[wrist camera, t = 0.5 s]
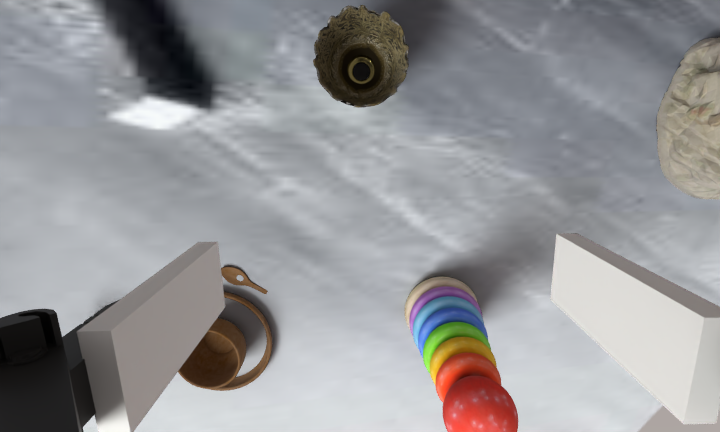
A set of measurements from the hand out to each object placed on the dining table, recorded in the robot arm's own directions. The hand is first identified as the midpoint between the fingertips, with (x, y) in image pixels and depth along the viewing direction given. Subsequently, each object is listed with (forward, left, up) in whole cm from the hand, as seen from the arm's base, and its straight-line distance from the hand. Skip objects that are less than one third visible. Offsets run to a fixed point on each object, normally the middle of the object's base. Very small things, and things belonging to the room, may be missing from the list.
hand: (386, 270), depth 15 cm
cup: (-11, -1, -26) cm, 28 cm away
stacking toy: (+14, +7, -26) cm, 30 cm away
